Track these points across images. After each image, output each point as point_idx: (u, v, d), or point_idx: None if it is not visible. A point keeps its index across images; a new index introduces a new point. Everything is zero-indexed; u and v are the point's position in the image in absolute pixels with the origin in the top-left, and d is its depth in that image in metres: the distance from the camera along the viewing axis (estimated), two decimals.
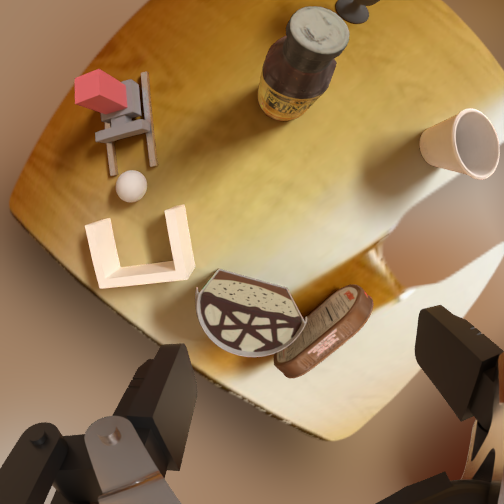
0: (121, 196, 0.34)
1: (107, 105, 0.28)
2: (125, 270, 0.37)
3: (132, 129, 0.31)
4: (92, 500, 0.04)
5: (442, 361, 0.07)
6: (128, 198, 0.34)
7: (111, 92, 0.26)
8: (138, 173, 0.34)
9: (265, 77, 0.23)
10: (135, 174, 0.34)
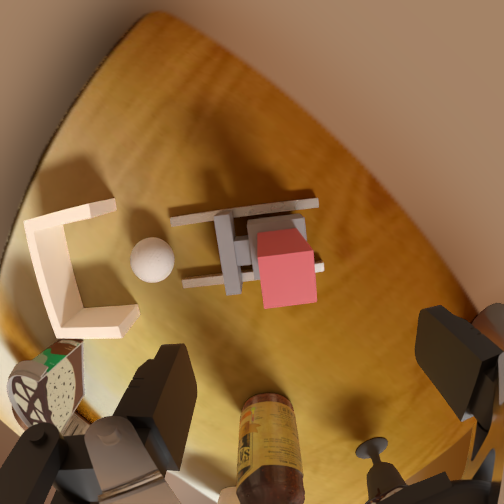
0: (134, 255, 0.24)
1: None
2: (54, 242, 0.26)
3: (226, 280, 0.24)
4: (92, 500, 0.04)
5: (442, 361, 0.07)
6: (132, 265, 0.25)
7: None
8: (167, 274, 0.26)
9: (261, 471, 0.21)
10: (164, 274, 0.25)
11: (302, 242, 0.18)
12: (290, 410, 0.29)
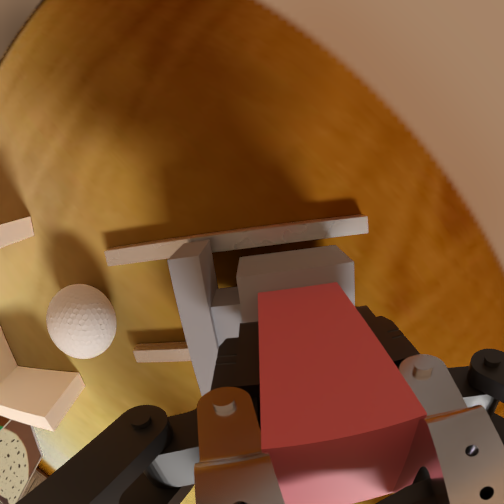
0: (48, 317, 0.12)
1: None
2: None
3: (199, 374, 0.12)
4: (192, 483, 0.05)
5: None
6: None
7: None
8: (105, 348, 0.14)
9: None
10: (99, 350, 0.13)
11: (377, 356, 0.06)
12: None
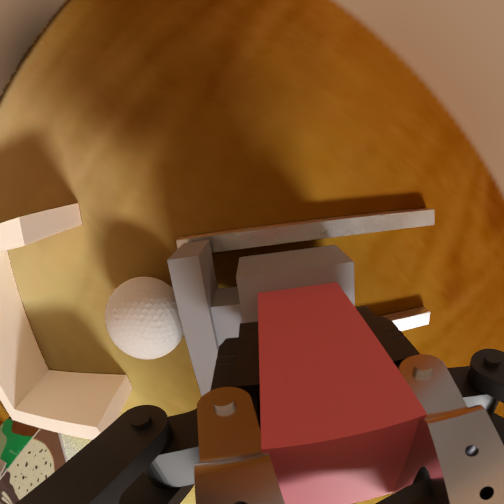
0: (110, 314, 0.12)
1: None
2: None
3: (199, 374, 0.12)
4: (192, 483, 0.05)
5: None
6: (108, 331, 0.12)
7: None
8: (175, 346, 0.14)
9: None
10: (170, 348, 0.13)
11: (377, 356, 0.06)
12: None
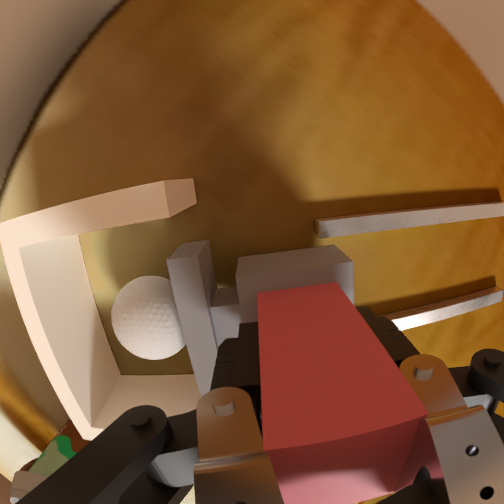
0: (117, 313, 0.12)
1: None
2: (63, 266, 0.13)
3: (199, 374, 0.12)
4: (192, 483, 0.05)
5: None
6: (115, 331, 0.12)
7: None
8: (183, 346, 0.13)
9: None
10: (178, 348, 0.13)
11: (377, 356, 0.06)
12: None
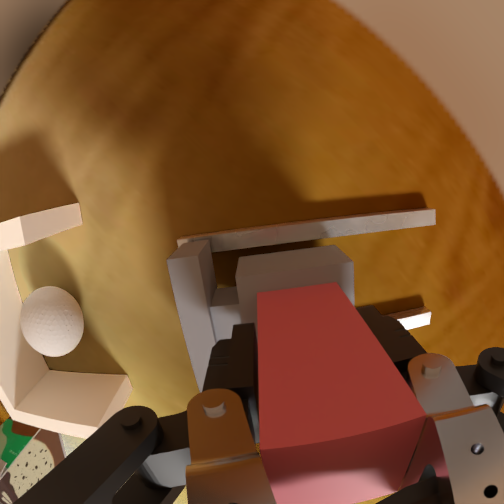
0: (21, 316, 0.12)
1: None
2: None
3: (198, 374, 0.12)
4: (183, 483, 0.05)
5: None
6: (22, 330, 0.13)
7: None
8: (72, 347, 0.14)
9: None
10: (66, 348, 0.13)
11: (376, 356, 0.06)
12: None
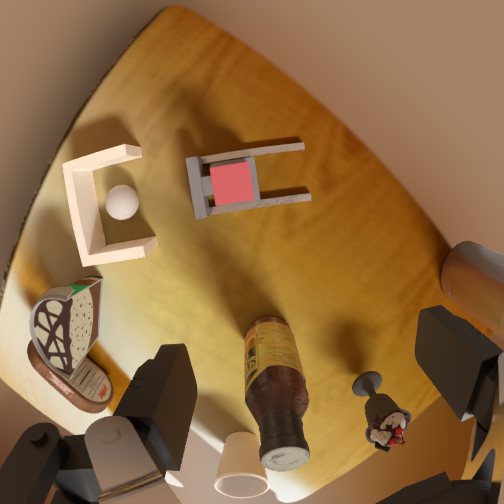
0: (107, 197, 0.30)
1: None
2: (86, 184, 0.31)
3: (195, 207, 0.30)
4: (92, 500, 0.04)
5: (442, 361, 0.07)
6: (106, 205, 0.31)
7: None
8: (132, 212, 0.32)
9: (268, 370, 0.27)
10: (130, 211, 0.31)
11: None
12: (289, 330, 0.36)
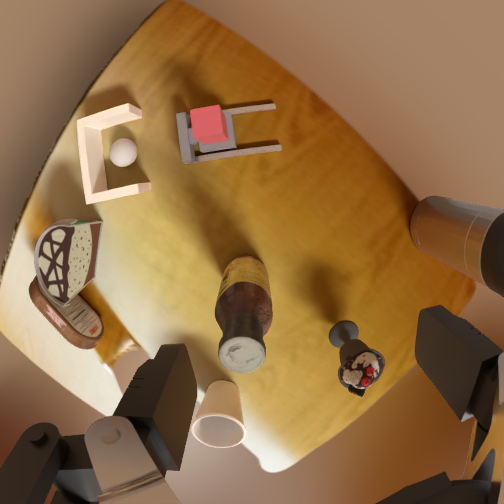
0: (112, 146, 0.36)
1: None
2: (95, 139, 0.37)
3: (182, 152, 0.36)
4: (92, 500, 0.04)
5: (442, 361, 0.07)
6: (110, 153, 0.36)
7: (206, 139, 0.31)
8: (131, 160, 0.37)
9: (235, 285, 0.32)
10: (129, 158, 0.37)
11: None
12: (263, 266, 0.41)
